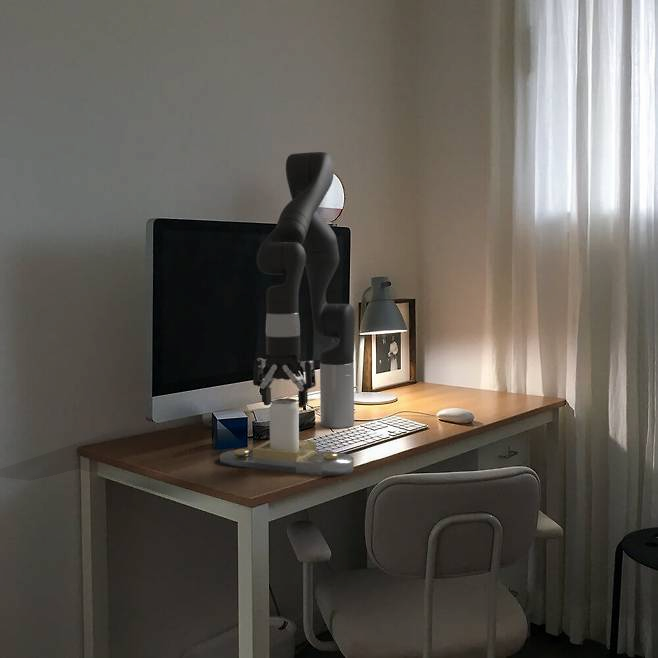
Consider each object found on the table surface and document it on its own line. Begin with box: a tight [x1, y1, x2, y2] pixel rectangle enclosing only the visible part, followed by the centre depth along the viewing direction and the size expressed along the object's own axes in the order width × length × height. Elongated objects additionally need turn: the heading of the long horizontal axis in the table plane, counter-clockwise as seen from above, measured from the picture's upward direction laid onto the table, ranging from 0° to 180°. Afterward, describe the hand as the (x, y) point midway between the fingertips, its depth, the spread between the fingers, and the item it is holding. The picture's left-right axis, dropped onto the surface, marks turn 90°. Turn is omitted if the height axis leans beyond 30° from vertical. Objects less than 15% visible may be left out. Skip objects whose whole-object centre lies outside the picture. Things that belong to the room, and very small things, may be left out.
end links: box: [219, 439, 355, 477], centre depth 172 cm, size 32×11×4 cm, turn 67°
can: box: [269, 398, 300, 451], centre depth 172 cm, size 6×6×12 cm
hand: (284, 405), depth 171 cm, fingers open, 8 cm apart
